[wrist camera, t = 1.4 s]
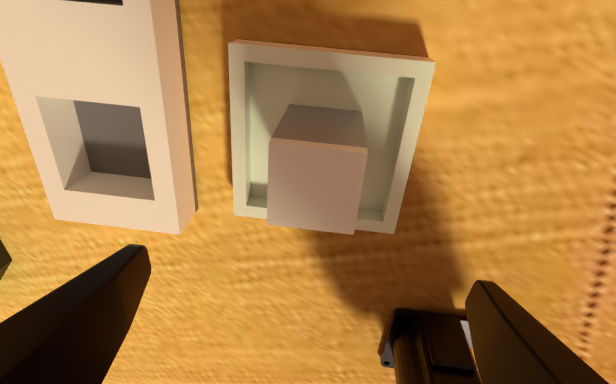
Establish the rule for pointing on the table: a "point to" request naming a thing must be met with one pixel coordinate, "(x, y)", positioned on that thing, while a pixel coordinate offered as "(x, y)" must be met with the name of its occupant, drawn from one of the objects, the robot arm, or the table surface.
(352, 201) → the plug
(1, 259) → the wine bottle
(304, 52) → the tray
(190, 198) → the power strip
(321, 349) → the table surface
